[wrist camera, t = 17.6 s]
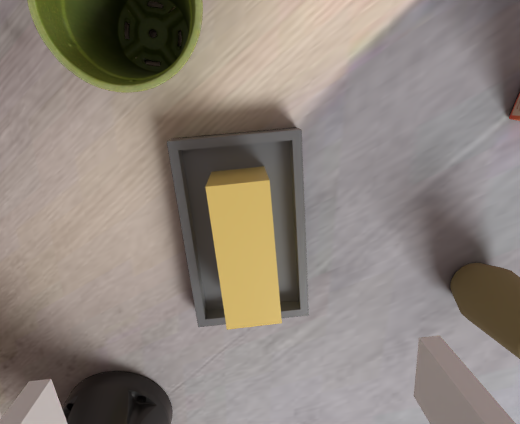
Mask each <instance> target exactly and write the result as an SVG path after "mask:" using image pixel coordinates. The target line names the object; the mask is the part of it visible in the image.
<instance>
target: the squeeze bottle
mask: <svg viewBox="0 0 520 424" xmlns="http://www.w3.org/2000/svg"><path fill="white" fill-rule="evenodd" d="M450 289H451V291H452V294H453V296H454V299H455V301H456V303H457V305H458V307H459V310H460V312H461V314H462V315H464V316H465V317H466V318H467V319H468V320H469V321H471V322H472V323H473V324H475V325H476V326H477V327H479V328H480V329H481V330H482V331H484V332H485V333H486V334H488V335H489V336H490V337H492V338H493V339H494V340H496V341H497V342H498V343H500V344H501V345H502V346H503V347H505V348H506V349H507V350H509V351H510V352H511V353H513V354H514V355H515V356H517V357H518V358H519V359H520V277H518V276H517V275H516V274H515V273H513V272H512V271H510V270H507V269H504V268H500V267H496V266H491V265H487V264H482V263H470V264H468V265H465V266H463V267H461V268H460V269H459V270H458V271H457V272H456V273H455V274H454V276H453V278H452V280H451V285H450Z"/></svg>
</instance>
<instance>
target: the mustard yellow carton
mask: <svg viewBox="0 0 520 424" xmlns="http://www.w3.org/2000/svg"><path fill="white" fill-rule="evenodd" d="M205 188H206V194H207V201H208V207H209V214H210V221H211V227H212V234H213V241H214V247H215V254H216V260H217V267H218V274H219V280H220V287H221V294H222V300H223V307H224V313H225V320H226V327H227V329H236V328H244V327H253V326H262V325H270V324H279V323H282V319H281V308H280V296H279V284H278V273H277V261H276V249H275V238H274V226H273V214H272V202H271V191H270V180H269V177H268V175H267V172H266V170H265V167H264V166H262V167H253V168H243V169H233V170H224V171H214V172H211V174H210V177H209V179H208V182H207V184H206V187H205Z"/></svg>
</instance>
